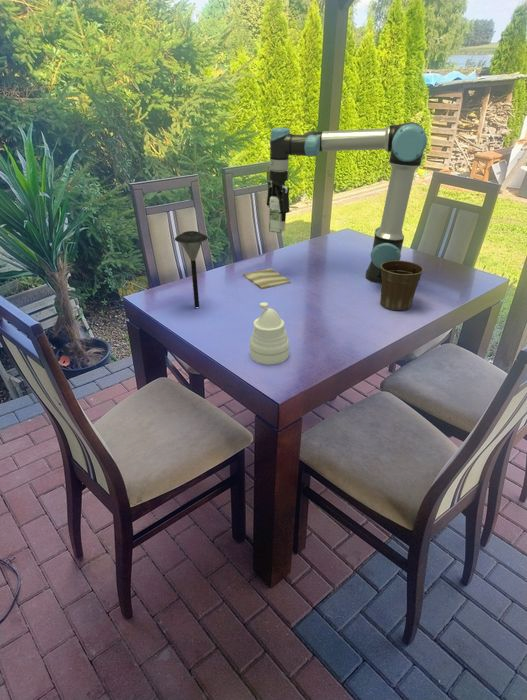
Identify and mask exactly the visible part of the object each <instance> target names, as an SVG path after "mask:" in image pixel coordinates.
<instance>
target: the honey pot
mask: <svg viewBox="0 0 527 700" xmlns="http://www.w3.org/2000/svg"><path fill="white" fill-rule="evenodd" d="M259 307H260V309H261V310H262V313H261V314H260V316H259V317H258V318H255V320H254V321H253V323H252V325H253V327H254V328H253V330H252V334H251V337H250V339H249V355H250V358H251V359H252V360H253V361H254V362H256V363H258V364H262V365H269V366H270V365H271V366H272V365H278V364H280V363H283V362H285V361H286V360H287V359H288V357H289V356H290V355H289V353H290V339H289V338H288V337H289V336H288V334H287V331H286V329H285V321H284V320H283V319H281V317H280V316H279V314H278V312H277V311H276V310H275V309H273V308H271V307H270V308H269V303H268V302H264V301H263V302H260V303H259Z"/></svg>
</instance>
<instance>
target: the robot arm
mask: <svg viewBox="0 0 527 700" xmlns="http://www.w3.org/2000/svg"><path fill="white" fill-rule="evenodd" d="M427 141H428V138H427V133H426V132H425V130H424V128H423V127H422V126H421V125H420V124H419V123H418V122H414V121H413V122H412V121H410V122H405V123H400V124H389V125H388V126H387V127H386V128H368V129H367V128H364V129H348V130H347V129H345V130H343V129H342V130H341V129H340V130H325V131H324V130H322V131H315V130H310V131H307V132H305V133H304V134H293V133H291V129H290V128H287V127H274V128H272V129H271V131H270V140H269V144H270V145H269V146H270V147H269V169H270V170H269V182H268V183H267V187H268V189H267V197H266V206H267V207H268V209H269V210H270V197H272V196H277V197H278V199H279V206H280V212H279V229H284V228H285V229H286V220H287V219H286V216H287V214H288V213H290V199H289V197H290V195H289V193H290V188H289V187H287V186H286V183H285V182H287V181H288V180H289V171H288V170H289V156H300V157H301V156H302V157H317V156H318V155H319V152H320V153H321V152H336V151H337V152H343V151H374V150H375V151H376V150H379V151H380V150H384V151H385V152H386V153H390V154H389V160H388V163H389V165H390V166H391V172H390V176H389V181H388V186H387V192H386V197H385V201H384V207H383V211H382V212H383V213H382V217H381V220H380V221H381V223H380V227H377V228H375V231H374V237H373V245H372V248H371V251H370V263H369V265H368V267H367V269H366V271H365V278H366V279H367V280H368V281H370V282H373V283H377V284H382V276H381V264H382V263H384V262H387V261H395V260H398V261H401V257H402V254H401V253H402V249H403V245H404V239H405V235H404V234H403V227H404V221H405V218H406V217H405V216H406V212H407V208H408V203H409V199H410V194H411V191H412V185H413V181H414V177H415V171H416V170H417V169H418V168H420V167H421V164H422V162H423V161H422V160H423V156H424V152H425V150H426V147H427V143H428V142H427Z"/></svg>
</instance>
